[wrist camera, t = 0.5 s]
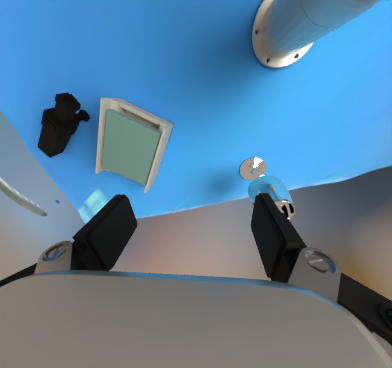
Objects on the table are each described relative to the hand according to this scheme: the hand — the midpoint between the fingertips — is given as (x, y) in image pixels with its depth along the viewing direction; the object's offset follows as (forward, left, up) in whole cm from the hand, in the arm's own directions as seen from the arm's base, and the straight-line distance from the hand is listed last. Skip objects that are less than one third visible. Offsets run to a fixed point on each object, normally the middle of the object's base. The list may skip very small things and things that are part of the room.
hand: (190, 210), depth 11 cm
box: (+12, -16, -34) cm, 39 cm away
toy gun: (+15, -35, -34) cm, 51 cm away
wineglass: (+4, +18, -34) cm, 38 cm away
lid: (+12, -16, -29) cm, 35 cm away
